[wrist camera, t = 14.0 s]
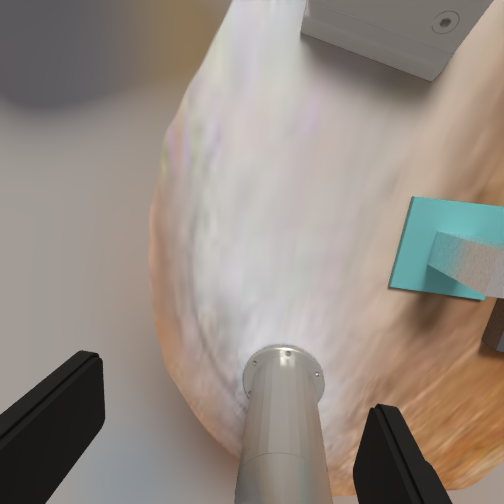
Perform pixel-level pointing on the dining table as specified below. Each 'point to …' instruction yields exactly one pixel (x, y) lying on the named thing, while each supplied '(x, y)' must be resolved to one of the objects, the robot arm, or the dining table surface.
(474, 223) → the mat
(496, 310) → the slotted plate
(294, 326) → the dining table surface
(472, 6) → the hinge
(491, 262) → the steel block
